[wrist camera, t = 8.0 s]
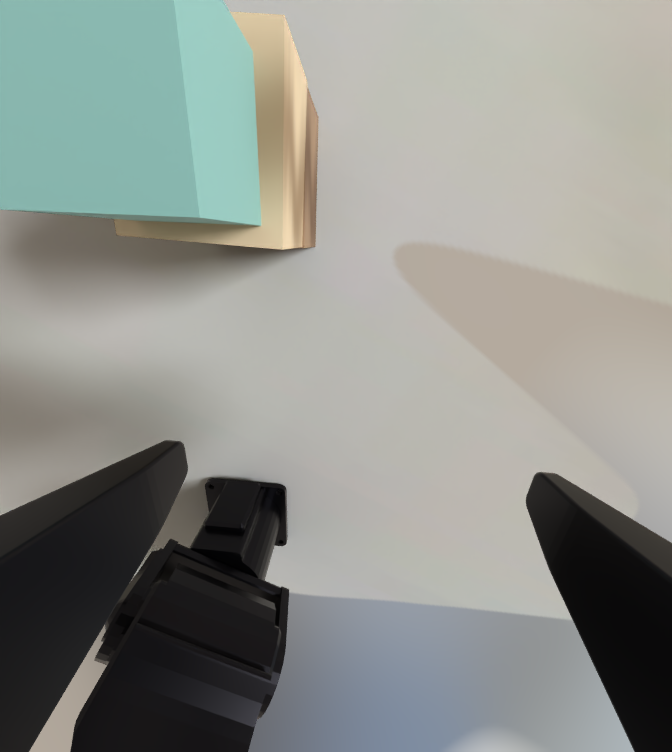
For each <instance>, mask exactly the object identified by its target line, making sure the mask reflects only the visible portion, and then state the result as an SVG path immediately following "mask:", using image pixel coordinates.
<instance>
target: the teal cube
mask: <svg viewBox="0 0 672 752" xmlns="http://www.w3.org/2000/svg"><path fill="white" fill-rule="evenodd" d="M0 209H1V210H13V211H25V212H37V213H49V214H62V215H74V216H86V217H98V218H110V219H122V220H135V221H158V222H183V223H207V224H231V225H255V226H261V206H260V185H259V165H258V145H257V125H256V104H255V84H254V64H253V51H252V49H251V47H250V46H249V44H248V42H247V41H246V39H245V37H244V35H243V34H242V32H241V30H240V29H239V27H238V25H237V23H236V22H235V20H234V18H233V16H232V15H231V13H230V11H229V10H228V8H227V6H226V4H225V3H224V1H223V0H0Z"/></svg>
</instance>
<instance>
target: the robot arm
mask: <svg viewBox="0 0 672 752" xmlns="http://www.w3.org/2000/svg"><path fill="white" fill-rule="evenodd" d="M187 471H188V465H187V459H186V453H185V448H184V444H183V443H182V442H180V441H172V440H166V441H163V442H161V443H158V444H156V445H154V446H152V447H150V448H148V449H145V450H143V451H141V452H139V453H137V454H134V455H132V456H130V457H128V458H126V459H123V460H121V461H119V462H117V463H115V464H112V465H110V466H108V467H106V468H104V469H101V470H99V471H97V472H95V473H93V474H91V475H88V476H86V477H84V478H82V479H80V480H77V481H75V482H73V483H71V484H69V485H66V486H64V487H62V488H60V489H58V490H55V491H53V492H51V493H49V494H47V495H44V496H42V497H40V498H38V499H36V500H34V501H31V502H29V503H27V504H25V505H23V506H20V507H18V508H16V509H14V510H12V511H9V512H7V513H5V514H3V515H1V516H0V752H29V751H30V749H31V747H32V745H33V744H34V742H35V740H36V739H37V737H38V735H39V734H40V732H41V730H42V728H43V727H44V725H45V723H46V722H47V720H48V719H49V717H50V715H51V713H52V712H53V710H54V709H55V707H56V705H57V704H58V702H59V700H60V698H61V697H62V695H63V693H64V692H65V690H66V688H67V687H68V685H69V683H70V682H71V680H72V678H73V677H74V675H75V673H76V672H77V670H78V668H79V666H80V665H81V663H82V662H83V660H84V658H85V657H86V655H87V653H88V651H89V650H90V648H91V646H92V645H93V643H94V641H95V640H96V638H97V636H98V635H99V633H100V631H101V630H102V628H103V626H104V625H105V629H106V632H105V634H104V636H103V638H102V640H101V641H102V642H103V644H102V646H101V648H100V649H99V651H98V653H97V655H96V657H95V661H97V662H100V663H103V664H105V665H107V667H106V668H105V670H104V672H103V673H102V675H101V677H100V679H99V680H98V682H97V684H96V686H95V688H94V689H93V691H92V693H91V695H90V696H89V698H88V700H87V701H86V703H85V705H84V707H83V708H82V710H81V712H80V714H79V716H78V718H77V720H76V724H75V727H74V733H73V740H72V746H71V752H248V749H249V746H250V742H251V738H252V735H253V731H254V727H255V724H256V721H257V719H259V718H261V717H262V715H263V714H264V713H265V711H266V709H267V707H268V706H269V704H270V701H271V699H272V697H273V695H274V692H275V689H276V686H277V683H278V680H279V677H280V674H281V669H282V665H283V661H284V655H285V648H286V633H287V617H288V616H287V615H288V600H289V589H287V588H284V587H281V588H280V587H278V586H276V585H273V584H271V583H269V582H266V581H264V580H265V577H266V573H267V570H268V566H269V563H270V559H271V556H272V552H273V549H274V545H276V546H284V545H286V542H287V492H286V487H285V486H283V485H280V484H269V483H258V482H247V481H236V480H225V479H214V478H212V479H209V480H208V481H207V483H206V484H205V488H206V495H207V501H208V508H209V514H208V516H207V518H206V519H205V521H204V523H203V525H202V527H201V528H200V530H199V532H198V534H197V536H196V537H195V539H194V541H193V543H192V545H191V546H190V548H187V547H185V546H182V545H180V544H178V542H177V541H175V540H172V539H170V540H169V541H168V543H167V544H166V546H165V547H164V549H161V548H160V550H158V551H152V552H151V554H150V555H149V557H148V558H147V560H146V561H145V563H144V564H143V566H142V567H141V569H140V570H139V572H138V573H137V574H136V576H135V577H134V578H133V580H132V581H131V579H132V577H133V576H134V574H135V573H136V571H137V569H138V568H139V566H140V564H141V562H142V561H143V559H144V557H145V556H146V554H147V552H148V551H149V549H150V547H151V546H152V544H153V542H154V541H155V539H156V537H157V535H158V534H159V532H160V530H161V528H162V526H163V524H164V522H165V520H166V518H167V516H168V514H169V512H170V509H171V507H172V505H173V503H174V501H175V499H176V497H177V495H178V492H179V490H180V488H181V486H182V484H183V482H184V480H185V477H186V475H187ZM211 484H212V485H211ZM279 491H281V492H279ZM526 506H527V509H528V512H529V515H530V518H531V520H532V523H533V526H534V529H535V532H536V534H537V537H538V540H539V543H540V546H541V548H542V551H543V554H544V557H545V559H546V562H547V565H548V567H549V570H550V572H551V574H552V576H553V579H554V581H555V583H556V585H557V587H558V589H559V592H560V594H561V596H562V598H563V600H564V602H565V604H566V606H567V609H568V611H569V613H570V615H571V617H572V619H573V621H574V623H575V625H576V628H577V630H578V632H579V634H580V636H581V638H582V641H583V643H584V645H585V647H586V649H587V651H588V653H589V656H590V657H591V660H592V662H593V664H594V666H595V668H596V670H597V673H598V675H599V677H600V679H601V681H602V683H603V685H604V687H605V690H606V692H607V694H608V696H609V698H610V700H611V702H612V705H613V707H614V709H615V711H616V713H617V715H618V717H619V720H620V722H621V724H622V726H623V728H624V730H625V732H626V734H627V737H628V739H629V741H630V743H631V745H632V747H633V749H634V751H635V752H672V543H671V542H669V541H667V540H666V539H664V538H662V537H660V536H659V535H657V534H656V533H654V532H652V531H650V530H649V529H647V528H646V527H644V526H642V525H641V524H639V523H637V522H636V521H634V520H633V519H631V518H629V517H628V516H626V515H624V514H623V513H621V512H619V511H618V510H616V509H614V508H613V507H611V506H609V505H608V504H606V503H604V502H603V501H601V500H599V499H598V498H596V497H594V496H593V495H591V494H589V493H588V492H586V491H584V490H583V489H581V488H579V487H578V486H576V485H574V484H573V483H571V482H569V481H568V480H566V479H564V478H563V477H561V476H559V475H558V474H555V473H546V472H538V473H536V474H535V476H534V478H533V480H532V483H531V486H530V488H529V491H528V494H527V497H526ZM130 581H131V582H130Z"/></svg>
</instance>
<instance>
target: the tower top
mask: <svg viewBox="0 0 672 752" xmlns="http://www.w3.org/2000/svg"><path fill="white" fill-rule="evenodd" d="M230 13H231V15H232V16H233V18H234V20H235V22H236V23H237V25H238V27H239V29H240V30H241V32H242V34H243V35H244V37H245V39H246V41H247V42H248V44H249V46H250V47H251V49H252V51H253V64H254V84H255V104H256V125H257V145H258V165H259V185H260V206H261V226H255V225H231V224H207V223H183V222H158V221H135V220H122V219H114V223H115V229H116V234H117V235H118V236H130V237H142V238H153V239H165V240H176V241H188V242H200V243H211V244H223V245H235V246H246V247H258V248H269V249H281V250H283V249H291V248H299V247H302V236H303V204H304V172H305V141H306V109H307V79H306V76H305V73H304V70H303V67H302V65H301V62H300V59H299V56H298V53H297V50H296V47H295V44H294V41H293V38H292V35H291V33H290V30H289V27H288V24H287V21H286V18H285V15H277V14H259V13H242V12H230Z"/></svg>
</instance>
